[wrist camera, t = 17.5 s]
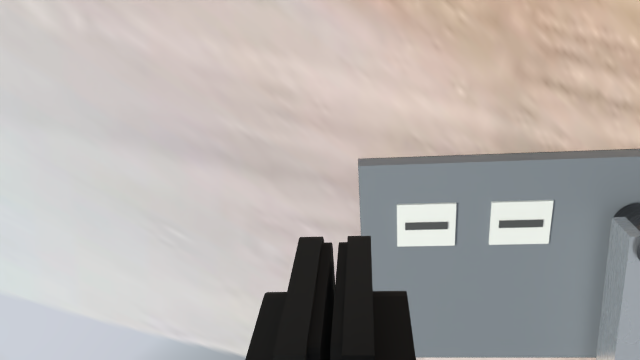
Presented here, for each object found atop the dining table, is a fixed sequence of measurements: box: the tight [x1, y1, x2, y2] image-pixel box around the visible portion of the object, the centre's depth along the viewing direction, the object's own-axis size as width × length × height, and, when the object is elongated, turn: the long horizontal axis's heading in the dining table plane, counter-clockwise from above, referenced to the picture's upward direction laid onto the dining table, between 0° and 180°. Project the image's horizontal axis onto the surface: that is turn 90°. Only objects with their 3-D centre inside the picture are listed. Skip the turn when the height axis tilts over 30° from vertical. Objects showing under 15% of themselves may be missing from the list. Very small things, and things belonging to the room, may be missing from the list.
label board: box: [358, 149, 640, 357], centre depth 41 cm, size 22×18×2 cm
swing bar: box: [596, 203, 640, 360], centre depth 40 cm, size 22×4×4 cm, turn 7°
